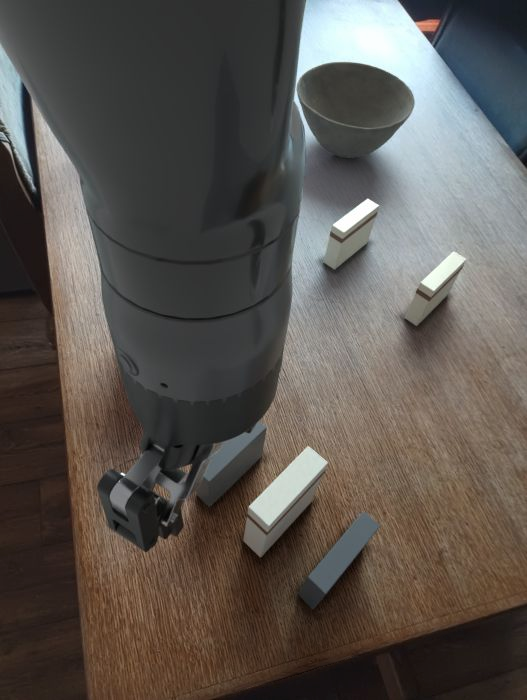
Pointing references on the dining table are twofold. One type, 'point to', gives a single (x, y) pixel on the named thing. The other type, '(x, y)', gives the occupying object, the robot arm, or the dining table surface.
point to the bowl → (353, 106)
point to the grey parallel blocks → (242, 457)
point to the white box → (283, 501)
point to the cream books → (355, 235)
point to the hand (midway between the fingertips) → (205, 470)
